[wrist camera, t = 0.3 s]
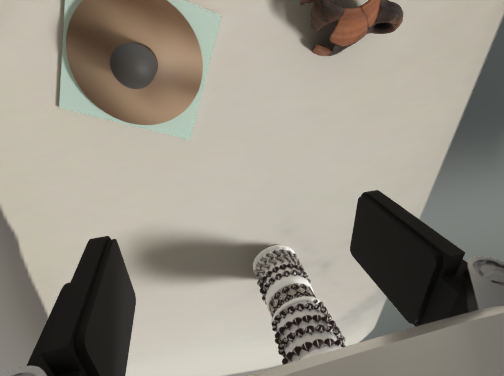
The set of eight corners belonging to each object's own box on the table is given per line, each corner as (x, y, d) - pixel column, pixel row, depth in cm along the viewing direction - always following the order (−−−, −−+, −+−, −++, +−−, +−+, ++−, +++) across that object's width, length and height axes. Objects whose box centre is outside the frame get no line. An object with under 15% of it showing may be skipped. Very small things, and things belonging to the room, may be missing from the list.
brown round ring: (288, 58, 36) (302, 19, 28) (296, -14, 36) (311, -74, 28) (379, 69, 36) (419, 34, 28) (386, -3, 36) (428, -59, 28)
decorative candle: (240, 265, 50) (287, 433, 29) (279, 234, 49) (359, 386, 28) (269, 287, 55) (328, 445, 34) (305, 259, 54) (391, 405, 32)
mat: (69, -48, 26) (67, -50, 26) (220, 16, 32) (221, 15, 31) (60, 107, 32) (59, 108, 32) (189, 139, 37) (190, 140, 37)
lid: (73, -41, 26) (49, -58, 21) (215, 18, 31) (223, 15, 26) (64, 105, 32) (43, 117, 27) (187, 135, 37) (189, 151, 32)
